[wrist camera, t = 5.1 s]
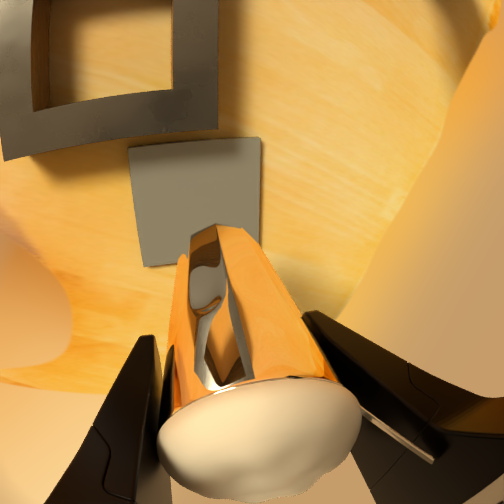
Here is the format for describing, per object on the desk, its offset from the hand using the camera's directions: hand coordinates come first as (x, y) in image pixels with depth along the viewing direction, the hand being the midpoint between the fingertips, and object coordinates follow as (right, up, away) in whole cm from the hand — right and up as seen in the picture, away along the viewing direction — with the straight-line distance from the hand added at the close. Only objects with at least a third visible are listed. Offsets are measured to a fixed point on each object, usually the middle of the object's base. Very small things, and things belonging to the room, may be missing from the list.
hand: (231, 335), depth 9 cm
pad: (-3, +6, +12) cm, 13 cm away
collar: (-8, +15, +5) cm, 17 cm away
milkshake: (0, +2, +4) cm, 5 cm away
